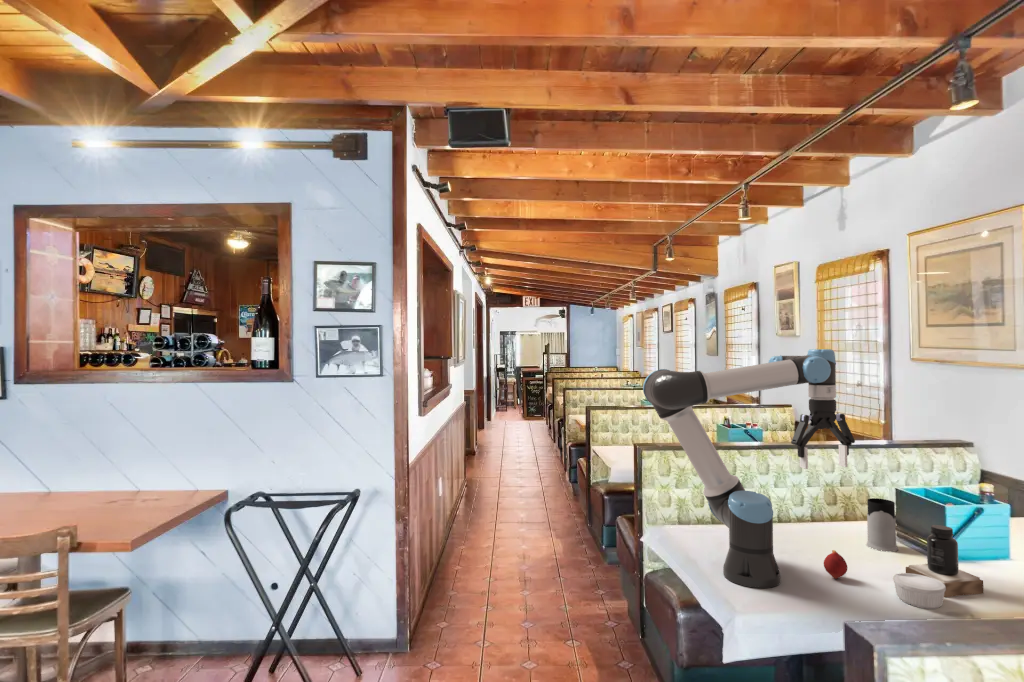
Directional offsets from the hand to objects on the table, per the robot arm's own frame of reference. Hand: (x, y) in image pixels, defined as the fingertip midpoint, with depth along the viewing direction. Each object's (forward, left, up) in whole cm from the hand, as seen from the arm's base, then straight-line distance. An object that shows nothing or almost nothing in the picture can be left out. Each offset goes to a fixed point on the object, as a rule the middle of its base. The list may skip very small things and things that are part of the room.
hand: (823, 467), depth 176 cm
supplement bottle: (+18, -23, -25) cm, 38 cm away
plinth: (+18, -23, -29) cm, 41 cm away
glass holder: (+28, +9, -29) cm, 41 cm away
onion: (-7, -13, -29) cm, 32 cm away
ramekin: (+4, -30, -29) cm, 42 cm away
